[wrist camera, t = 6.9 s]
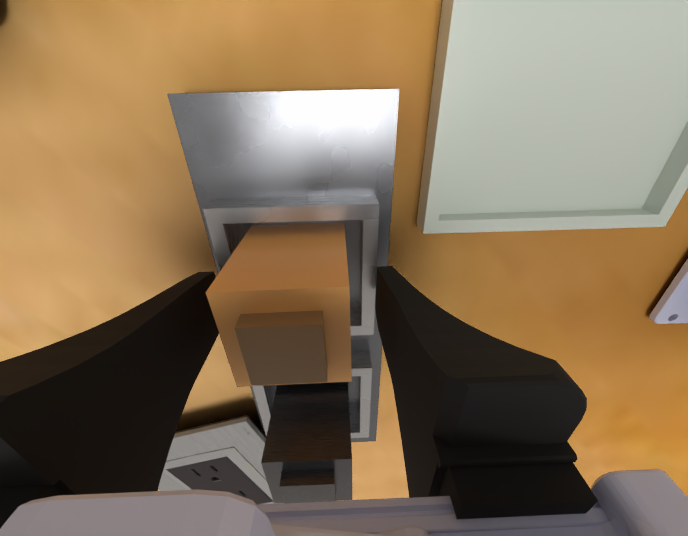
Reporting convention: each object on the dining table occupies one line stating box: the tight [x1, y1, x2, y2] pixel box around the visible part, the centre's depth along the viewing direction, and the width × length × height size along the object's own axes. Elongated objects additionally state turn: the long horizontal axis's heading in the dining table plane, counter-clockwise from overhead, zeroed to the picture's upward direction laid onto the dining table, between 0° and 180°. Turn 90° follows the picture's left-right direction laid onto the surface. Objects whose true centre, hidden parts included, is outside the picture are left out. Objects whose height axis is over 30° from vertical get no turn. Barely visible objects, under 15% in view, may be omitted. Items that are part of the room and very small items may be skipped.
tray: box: [416, 0, 688, 234], centre depth 11 cm, size 11×9×1 cm
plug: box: [206, 222, 352, 387], centre depth 11 cm, size 4×4×6 cm
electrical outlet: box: [158, 415, 279, 504], centre depth 23 cm, size 13×10×2 cm
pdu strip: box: [167, 89, 399, 503], centre depth 13 cm, size 22×8×7 cm, turn 1°
